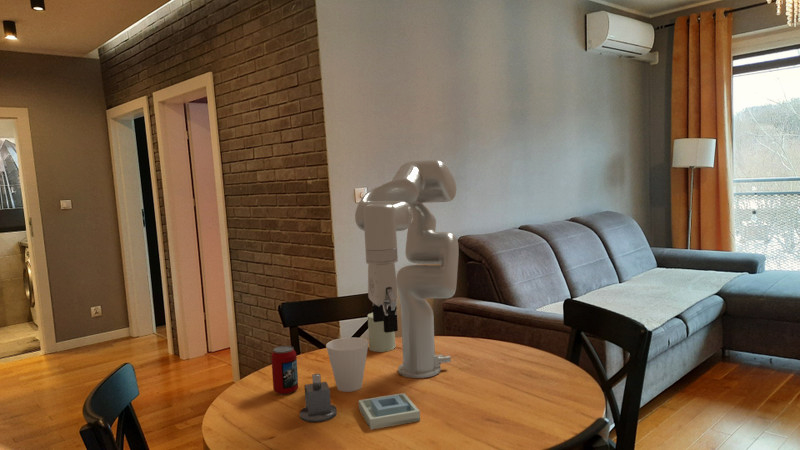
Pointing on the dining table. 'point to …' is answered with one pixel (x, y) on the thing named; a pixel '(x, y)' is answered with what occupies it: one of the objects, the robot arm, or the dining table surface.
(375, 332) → the can
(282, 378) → the beverage can
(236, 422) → the dining table surface
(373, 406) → the blue-grey rectangular frame
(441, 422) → the dining table surface
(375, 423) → the tray
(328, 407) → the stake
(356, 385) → the cup
